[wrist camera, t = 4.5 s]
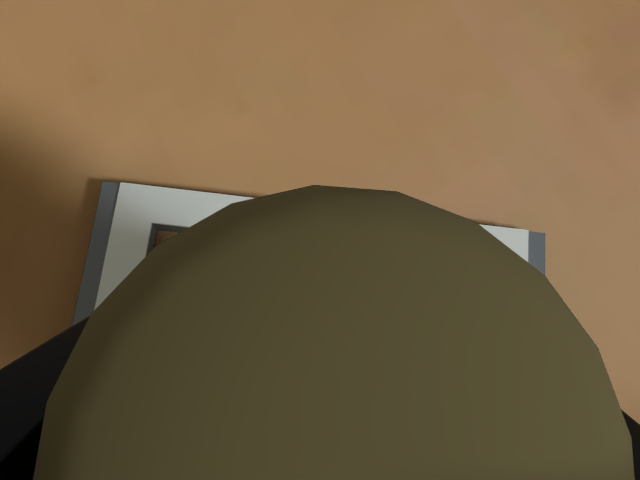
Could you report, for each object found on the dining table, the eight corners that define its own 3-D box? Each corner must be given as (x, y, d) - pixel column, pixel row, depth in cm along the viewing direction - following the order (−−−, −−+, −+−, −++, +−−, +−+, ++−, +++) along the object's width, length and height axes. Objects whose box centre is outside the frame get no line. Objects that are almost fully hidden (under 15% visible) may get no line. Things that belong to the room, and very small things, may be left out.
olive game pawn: (143, 362, 15) (-216, 245, 4) (365, 269, 16) (530, -17, 5) (233, 615, 13) (37, 1391, 3) (470, 497, 14) (989, 747, 4)
